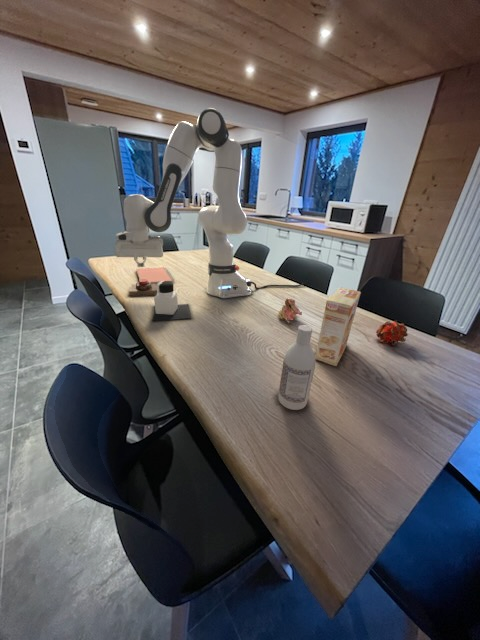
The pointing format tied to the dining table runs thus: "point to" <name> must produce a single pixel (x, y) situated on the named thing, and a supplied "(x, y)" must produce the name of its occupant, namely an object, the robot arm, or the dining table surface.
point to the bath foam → (297, 371)
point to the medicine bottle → (166, 298)
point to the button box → (143, 289)
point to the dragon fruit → (392, 332)
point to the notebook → (154, 275)
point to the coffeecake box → (336, 325)
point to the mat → (178, 315)
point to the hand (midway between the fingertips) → (141, 266)
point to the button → (143, 282)
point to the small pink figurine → (289, 310)
